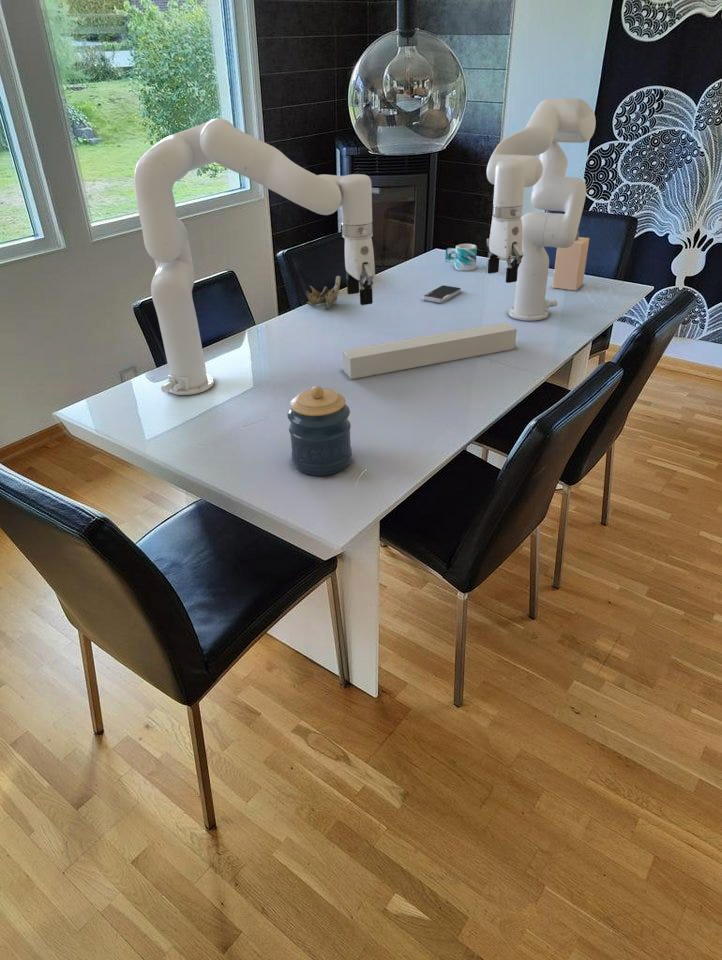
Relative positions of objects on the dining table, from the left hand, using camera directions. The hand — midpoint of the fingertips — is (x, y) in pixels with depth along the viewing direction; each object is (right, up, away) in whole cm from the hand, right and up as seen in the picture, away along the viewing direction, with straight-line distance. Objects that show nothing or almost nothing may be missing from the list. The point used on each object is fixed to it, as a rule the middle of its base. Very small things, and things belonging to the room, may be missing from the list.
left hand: (359, 298), depth 174 cm
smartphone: (+29, +18, +64) cm, 73 cm away
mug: (+40, +38, +94) cm, 109 cm away
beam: (+20, -13, +17) cm, 29 cm away
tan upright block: (+74, +22, +67) cm, 103 cm away
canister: (-8, -43, -28) cm, 52 cm away
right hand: (+39, +9, +11) cm, 42 cm away
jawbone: (-11, +15, +61) cm, 64 cm away
